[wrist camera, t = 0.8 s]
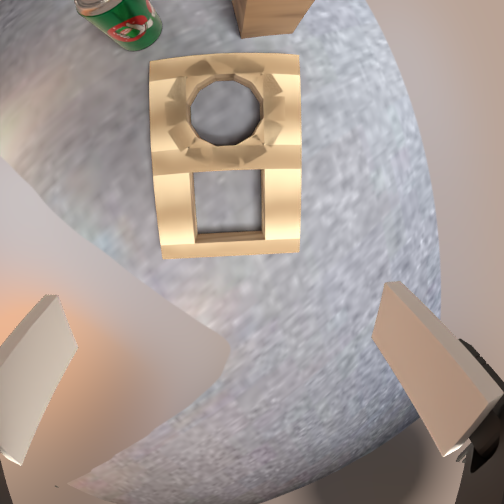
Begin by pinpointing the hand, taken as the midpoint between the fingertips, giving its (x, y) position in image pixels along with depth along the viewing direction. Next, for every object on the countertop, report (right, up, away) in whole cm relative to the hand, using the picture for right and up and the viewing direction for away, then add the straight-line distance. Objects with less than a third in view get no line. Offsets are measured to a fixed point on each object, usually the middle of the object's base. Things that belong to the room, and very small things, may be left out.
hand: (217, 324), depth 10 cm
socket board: (-1, +13, +17) cm, 21 cm away
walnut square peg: (+2, +28, +12) cm, 30 cm away
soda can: (-11, +26, +11) cm, 30 cm away
